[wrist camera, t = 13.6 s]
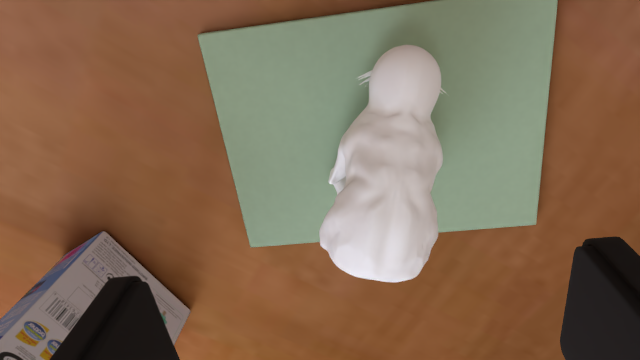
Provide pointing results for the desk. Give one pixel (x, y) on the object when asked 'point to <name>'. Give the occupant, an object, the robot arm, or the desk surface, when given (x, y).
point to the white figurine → (388, 173)
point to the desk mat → (351, 99)
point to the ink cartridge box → (76, 299)
